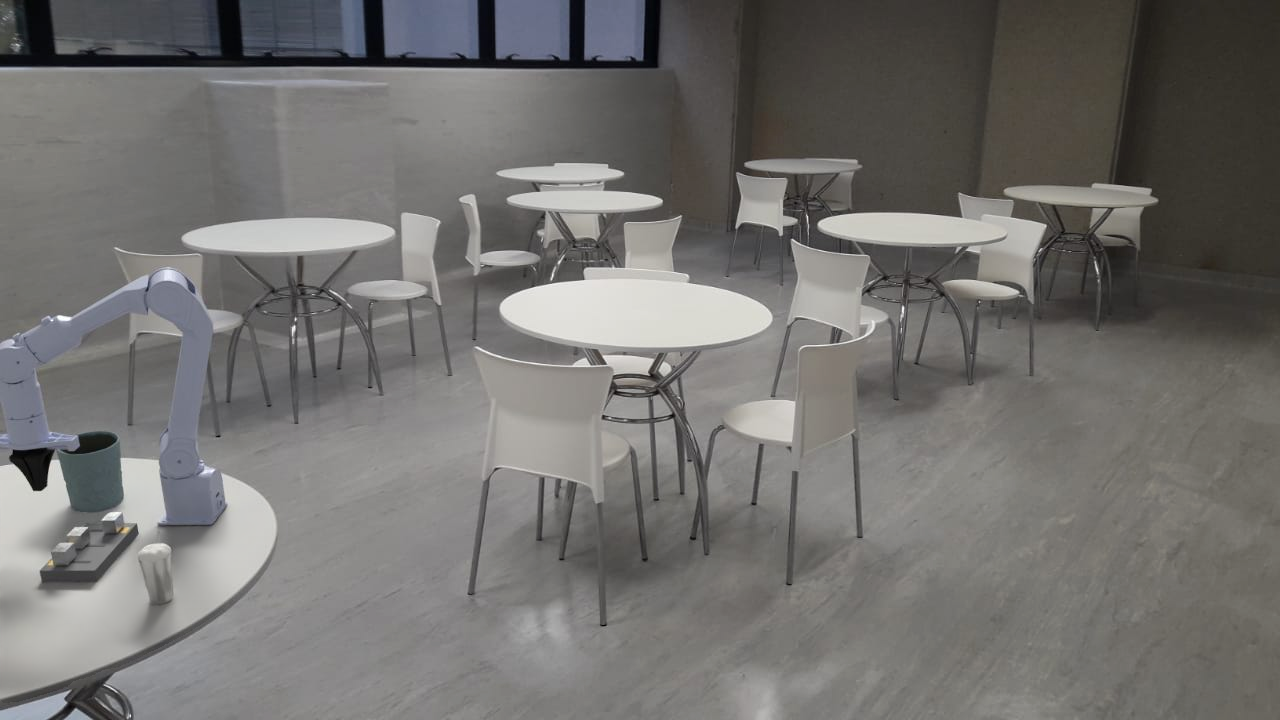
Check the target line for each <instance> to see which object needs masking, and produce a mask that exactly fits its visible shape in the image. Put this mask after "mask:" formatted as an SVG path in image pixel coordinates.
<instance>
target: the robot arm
mask: <svg viewBox="0 0 1280 720" xmlns="http://www.w3.org/2000/svg"><path fill="white" fill-rule="evenodd" d="M149 309H150V311H151V312H152V313H153V314H155V315H156V316H158V317H160V318H162V319H164V320H165V321H168V322H170V323H172V324H173V325H174V326H175V327H176V328H177V329H178V330H179V331H180V332H181V333H182V337H181V343H180V350H179V356H178V362H177V367H176V368H177V369H176V373H175V374H176V376H175V382H174V388H173V395H172V400H171V409H170V414H169V417H168V421H167V426H166V428H165V430H164V431H163V432H162V433H161V434H160V436H159V441H158V442H159V443H158V444H159V458H158V465H159V470H158V472H159V478H160V479H159V480H160V486H161V491H162V498H163V503H164V509H165V512H164V514H163V515H162V516H161V517H160V519H159V520H158V521H157V523H156V524H157V525H158V526H211V525H213V524H214V523H215V522H216V520H217V519H218V517H219V516H220V515H221V513H222V512H223V510H225V508H226V506H227V505H228V502H227V501H226V497H225V489H224V482H223V476H222V472H221V470H220V469H218V468H214V467H209V466H207V465H205V463H204V460H202V459H201V457H200V455H199V436H198V430H199V421H200V413H201V408H202V402H203V395H204V390H205V382H206V376H207V370H208V364H209V358H210V352H211V345H212V340H213V339H212V338H213V332H214V322H213V321H214V320H213V318H212V315H211V314H210V311H208V308H207V306H206V305H205V303H204V301H203V299H202V297H201V295H200V293H199V291H198V290H197V287H196V284H195V283H194V282H193V281H192V280H191V279H190V278H188V276H186V275H185V274H184V273H183V272H182V271H181V270H179V269H176V268H174V267H161V268H158V269H157V270H155V271H154V272H152V273H151V274H150V276H149V274H145V275H142V276H140V277H138V278H137V279H134V280H133V281H131V282H128V284H126V285H124V286H123V287H121V288H119V289H117V290H116V291H114V292H112V293H111V294H110V293H109V294H108V295H107V296H105V297H104V298H103V297H102V299H100V300H98V301H97V302H95V303H93V304H92V305H90V306H88V307H87V308H85V309H83V310H81V311H80V312H78V313H76V314H74V315H73V316H66V315H62V314H61V315H60V314H58V315H56V316H54V317H50V315H47V316H45V317H43V318H41V321H40V324H39V325H37V326H35V327H33V328H32V329H29V330H27V331H26V332H24V333H22V334H21V333H20V332H18V333H16V334H14V335H12V338H10V339H9V338H8V339H6V340H3V341H2V342H1V343H0V405H1V408H2V414H3V419H4V424H5V427H6V432H7V433H4V434H0V450H12V452H11V455H9V457H8V460H9V462H10V463H12V464H13V465H14V466H15V467H16V468H17V469H18V470H19V471H20V472H21V473H22V475H23V476H24V477H25V479H26V481H27V482H28V484H29V486H30V488H31V490H32V491H33V492H42V491H44V490H45V489H46V488H47V487H48V481H49V480H48V479H49V470H50V466H51V463H52V459H53V456H54V454H55V451H56V449H68V451H75V450H76V449H77V448H78V447H79V446H80V444H79V438H78V436H72V434H70V435H69V434H64V433H59V432H55V431H54V432H52V431H50V427H49V425H48V419H47V418H48V417H47V413H46V408H45V404H44V400H43V394H42V390H41V384H40V382H39V381H38V375H37V371H36V367H41V366H45V365H47V364H48V363H50V362H52V361H54V360H56V359H57V358H60V357H61V356H63V355H65V354H67V353H69V352H70V351H72V350H74V349H76V348H78V347H79V346H81V344H82V339H83V336H84V335H85V334H88V333H90V332H91V331H93V330H96V329H98V328H99V327H103V325H105V324H109V323H110V322H112V321H114V320H116V319H118V318H120V317H122V316H125V315H126V314H128V313H130V314H131V313H132V314H137V315H142V316H148V315H149Z"/></svg>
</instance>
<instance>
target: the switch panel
mask: <svg viewBox="0 0 1280 720" xmlns="http://www.w3.org/2000/svg"><path fill="white" fill-rule="evenodd" d="M124 524H125V525H124V526H123V527H122V528H121V529H120V530H119V531H118V533H103V528H102V522H99V523H98V522H91V523H90V522H87V523H85V524H84V525H83V526H82V527H89V532H90V537H91V541H90V542H89V543H88V544H87V545H86V546H85V547H84V548H83V549H75V550H76V555H77V556H76V557H75V558H74V559H73V560H72V561H71V562H70V563H69V564H68V565H53V560H52V557H51V559H49V560H48V562H46V564H45V565H43V566H42V567H41V569H40V570H39V575H40V580H41V582H42V583H45V582H46V583H49V582H51V583H53V582H54V583H55V582H57V583H58V582H62V583H65V582H68V583H69V582H72V583H73V582H75V583H76V582H78V583H79V582H84V583H85V582H94V583H95V582H98V581H99V580H100V579H101V578H102V576H103V575H104V574H105V573H106V572H107V570H108V569H109V568H110V567H111V566H112V565H113V564H114V563H115V562H116V561H117V559H118V558H119V557H120V556H121V555H122V553H123V552H124V551H125V550H126V549H127V548H128V547H129V545H130V544H131V543H132V542H133V541H134V540H135V538H136V537H137V536H138V535H139V528H138V522H124ZM66 543H68V542H66Z"/></svg>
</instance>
